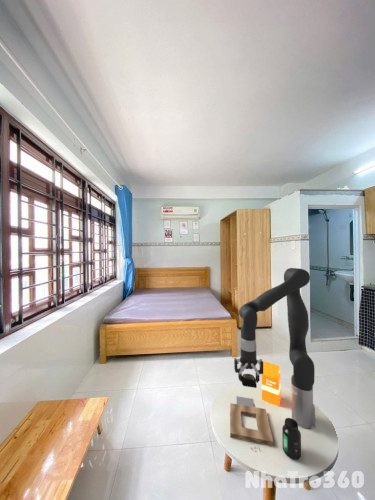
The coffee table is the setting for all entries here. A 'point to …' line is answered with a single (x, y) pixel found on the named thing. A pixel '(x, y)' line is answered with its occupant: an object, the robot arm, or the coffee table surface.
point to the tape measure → (249, 380)
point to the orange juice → (271, 383)
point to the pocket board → (248, 434)
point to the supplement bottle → (291, 439)
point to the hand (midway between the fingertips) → (248, 381)
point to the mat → (245, 401)
